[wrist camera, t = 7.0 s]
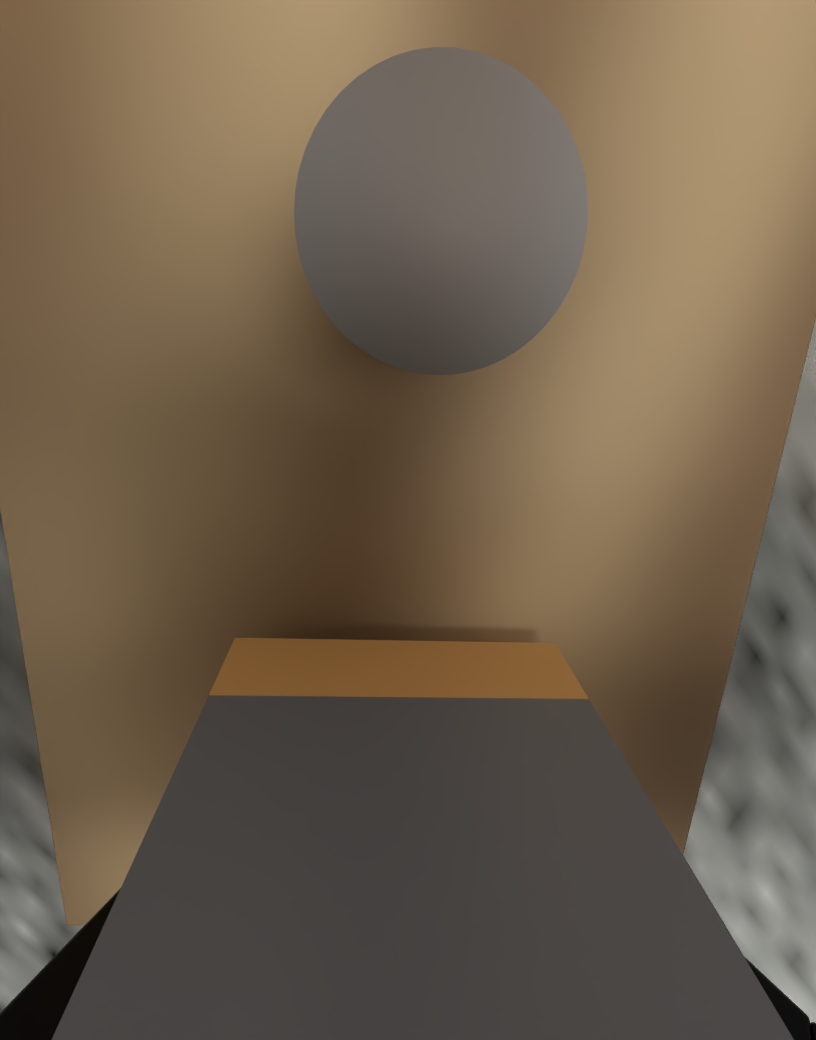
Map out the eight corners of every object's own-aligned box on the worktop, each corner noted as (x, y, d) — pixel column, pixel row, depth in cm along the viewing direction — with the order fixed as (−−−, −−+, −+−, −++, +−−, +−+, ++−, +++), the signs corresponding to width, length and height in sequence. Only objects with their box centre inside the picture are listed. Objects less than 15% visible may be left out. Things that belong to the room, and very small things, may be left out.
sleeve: (520, 884, 11) (690, 1511, 5) (245, 887, 10) (88, 1566, 5) (555, 643, 9) (853, 1139, 4) (235, 637, 9) (-12, 1180, 3)
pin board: (843, 3, 8) (1349, -357, 4) (646, 872, 13) (782, 1135, 9) (-45, -92, 7) (-621, -687, 3) (90, 878, 12) (-64, 1175, 8)
